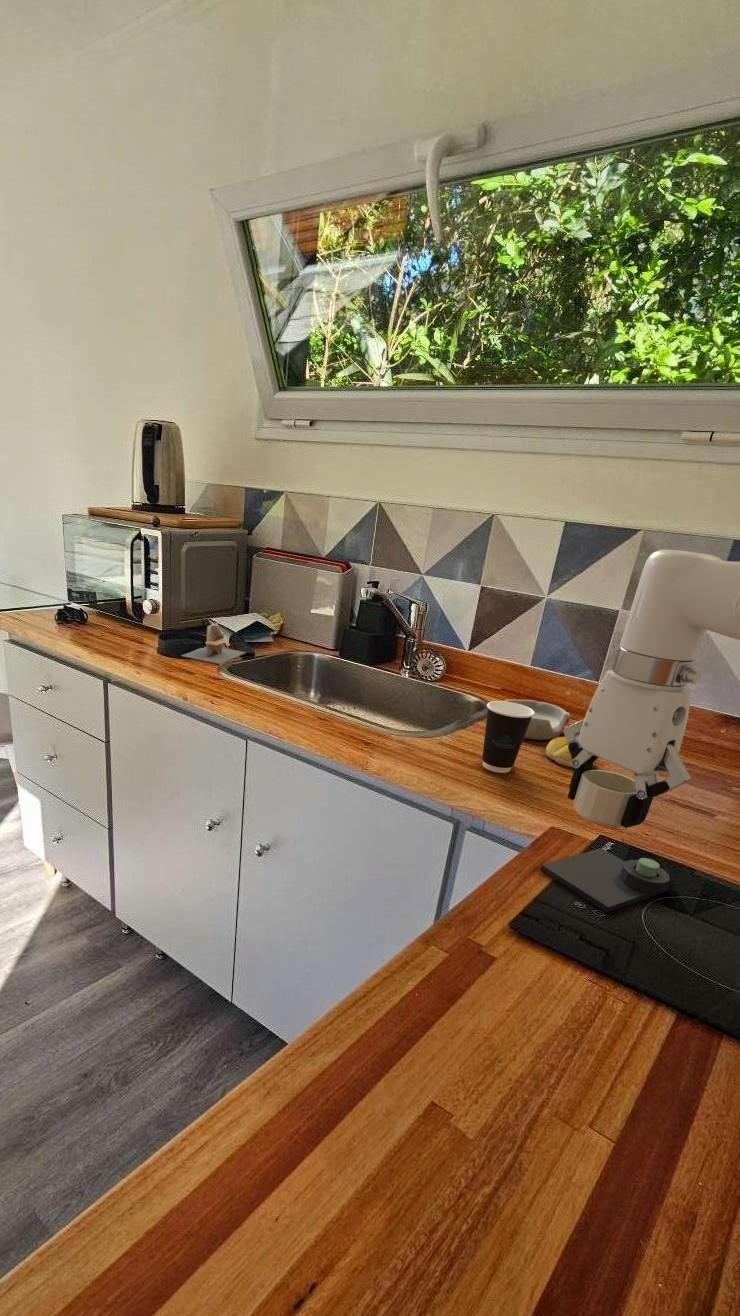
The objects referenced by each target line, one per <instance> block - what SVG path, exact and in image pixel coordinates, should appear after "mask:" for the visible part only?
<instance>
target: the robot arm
mask: <svg viewBox="0 0 740 1316" xmlns="http://www.w3.org/2000/svg"><path fill="white" fill-rule="evenodd" d="M705 630H706V631H710V632H713V633H716V634H719V635H722V636H724V637H727V638H730V639H734V640H736V641H737V640H738V641H740V561H732V560H731V561H730V560H729V561H728V560H723V559H722V558H721V557H718V556H715V555H712V554H707V553H702V552H701V553H700V552H694V551H687V550H677V549H659V550H656V551H654V552H652V553H651V554H650V555H649V556H648V557H647V559H646V561H645V563H644V567H643V569H642V571H641V575H640V578H639V581H638V585H637V587H636V591H635V594H634V598H633V600H632V605H631V607H630V611H629V614H628V617H627V621H626V623H625V626H624V630H623V633H622V636H621V639H620V643H619V646H618V648H617V651H616V652H617V653H616V654H615V655H616V656H615V658H614V661H613V664H612V668H611V669H610V670H607V671H606V673H604V676H603V677H602V679H601V681H600V683H599V684H598V686H597V688H596V690H595V692H594V694H593V696H592V698H591V701H590V703H589V706H588V709H587V710H586V713H585V716H584V718H583V719H581V720H579V721H575V722H574V723H572V724H570V725H567V726H565V727H564V729H563V734H564V737H566V740H567V743H568V744H569V745H568V749H569V752H570V754H571V756H572V759H573V760H572V766H573V767H574V769H573V773H572V777H571V780H570V782H569V787H568V788H569V789H568V790H569V791H568V794H567V798H568V799H569V800H571V801H574V799H575V796H576V792H577V789H578V786H579V783H580V780H581V776H582V774H583V773H584V772H585V771H588V770H597V768H596V767H594V765H595V764H594V763H596V762H598V761H599V759H602V760H604V761H606V762H608V763H611V764H613V765H614V766H616V767H619V768H622V769H624V770H626V771H629V772H631V773H633V778H634V779H633V780H635V788H636V795H633V796H630V798H629V800H628V803H627V806H626V809H625V812H624V815H623V817H622V820H621V827H623V828H624V829H628V828H632V827H636V826H639V825H641V824H642V823H643V822H645V820H646V819H647V816H648V814H649V810H650V808H651V805H652V802H653V799H654V798H655V797H658V796H661V795H664V794H666V793H668V792H671V791H673V790H674V789H676V788H679V787H681V786H683V785H686V784H688V783H689V782H690V781H691V780H692V779H691V777H692V776H691V775H690V773H689V771H688V770H687V768H686V766H685V764H684V762H683V761H682V759H681V757H680V755H679V753H680V750H681V746H682V743H683V740H684V736H685V732H686V727H687V724H688V718H689V712H690V706H691V697H692V690H691V689H689V688H686V687H685V686H687V685H688V684H689V683H690V684H694V685H695V684H696V685H697V683H698V682H699V681H700V680H701V677H702V672H701V671H699V670H696V669H695V668H694V666H695V664H696V662H695V659H696V656H697V653H698V650H699V649H700V648H699V647H700V644H701V642H702V640H703V636H704V633H705ZM593 764H594V765H593ZM573 767H572V768H573ZM659 772H663V773H664V772H668V777H667V778H665V779H662V780H661V781H660V775H659V774H660V773H659Z"/></svg>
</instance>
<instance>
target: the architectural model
mask: <svg viewBox="0 0 740 1316" xmlns="http://www.w3.org/2000/svg"><path fill="white" fill-rule="evenodd" d="M224 637H225V633H224V632H222V631H221V629H220V627H219V622H215V623H212V624H210V625H207V626H206V641H205V644H206V645H205V646H206V647H205V646H203V647H204V648H202V647H200V648H197V649H195V650H191V651H190V652H187V653H183V654H181V655H180V656H181V657H185V658H191V659H194V660H195V659H196V660H200V661H205V662H210V663H215V664H220V665H222V664H224V663H227V662H229V661H232V660H233V659H235V658H238V657H240V656H242V655H245V654H246V653H247V651H241V650H236V649H230V648H225V647H224V643H227V642H229V639H228V638H224Z"/></svg>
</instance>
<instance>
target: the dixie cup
mask: <svg viewBox="0 0 740 1316" xmlns="http://www.w3.org/2000/svg"><path fill="white" fill-rule="evenodd" d="M486 707H487V712H486V722H485V731H484V740H483V747H482V748H483V749H482V758H481V760H482V766H483V768H484V769H486V770H488V771H491V772H494V773H500V774H506V773H508V772H509V773H510V772H511V769H512V767H514V766H515V763H516V759H517V757H518V756H519V755H518V754H519V752H520V749H521V747H522V745H523V741H524V739H525V738H524V736H525V734H526V731H527V729H528V726H529V723H530V721H531V718H532V716H534V715H535V712H534V711H533V710H532V709H531V708H529V707H527V706H524V705H521V704H517V703H513V702H506V701H505V700H493V701H489V702H488V703H487V704H486Z"/></svg>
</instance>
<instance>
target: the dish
mask: <svg viewBox="0 0 740 1316" xmlns="http://www.w3.org/2000/svg"><path fill="white" fill-rule="evenodd" d="M504 701H506V702H513V703H517V704H521V705H524V706H527V707H529V708H531V709H532V710H533V711H534V712H535V715H534V716H532V718H531V721H530V723H529V726H528V729H527V731H526V734H525V736H524V739H529V740H538V741H545V740H553V739H555V738H558V737H560V736H561V735H562V733H563V732H564V728H565V727H566V724H568V723H569V722H570V719H571V713H570V712H567V711H566V710H565V709H564V708H561V707H560V706H558V705H554V704H552V703H548V702H545V701H537V700H533V699H504Z"/></svg>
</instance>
